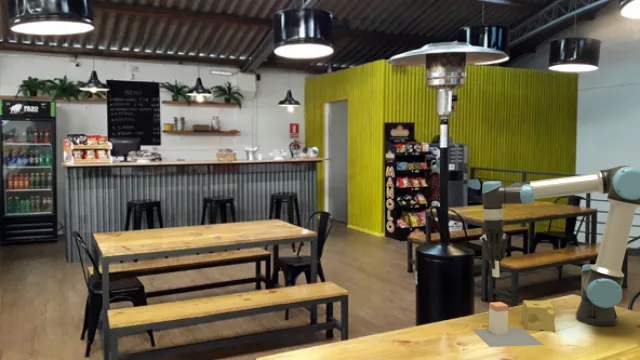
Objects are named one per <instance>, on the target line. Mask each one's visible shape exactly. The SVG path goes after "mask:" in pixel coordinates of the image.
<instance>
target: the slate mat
mask: <svg viewBox="0 0 640 360" xmlns="http://www.w3.org/2000/svg"><path fill="white" fill-rule="evenodd" d="M471 330H472V331H473V332H474V334H476V335H477V336H478V337H479V338H480V339H481V340H482V341H483V342H484V343H485V344H486V345H487V346H488V347H489V348H496V347H498V348H499V347H501V348H502V347H519V346H520V347H522V346H542V345H544V344H545V343H544V344H543V343H542V342H541V341H540V340H538V338H536V337H534V336H533V335H532V334H530V333H529V331H527V330H525V329H524V328H522V327H508V334H501V335H495V334H494V333H492V332H490V331H489V328H478V329H477V328H476V329H471Z"/></svg>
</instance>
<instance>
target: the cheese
mask: <svg viewBox="0 0 640 360" xmlns="http://www.w3.org/2000/svg"><path fill="white" fill-rule="evenodd" d="M555 316H556V315H555V312H554V307H553V305H552V303H551V301H550V300H525V299H523V301H522V304H521V318H522V319H521V320H522V324H523V325H524V326H525V327H526V331H537V332H538V331H539V332H540V331H543V332H551V333H554V334H555V333H556V323H555V319H556V318H555Z"/></svg>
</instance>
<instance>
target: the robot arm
mask: <svg viewBox="0 0 640 360" xmlns="http://www.w3.org/2000/svg"><path fill="white" fill-rule="evenodd" d="M481 193H482V194H481V195H482V208H483V209H482V210H483V218H484V220H483V228H484V232H483V235H482V236H480V237H478V239H479V241H480V242H481V246H482V249H483V253H484V258H485V260H488V261H490V262H489V263H490V269H491V271H492V272H491V273H492V275H491V276H492V277H494V278H500V269H501V267H502V266H501V262H502V261H503V259H505V257H506V251H507V245H508V240H509V238H510V235H509V234H506V233H505V232H504V220H503V218H504V212H503V209H504V208H503V205H528V204H534V201H535V199H536V200H537V199H545V198H554V197H563V196H564V197H565V196H573V195H581V194H582V195H583V194H592V193H593V194H594V193H599V194H601V195H606V194H607V197H606V199H607V201H608V202H609V207H608V208H609V209H608V212H607V215H606V221H605V226H604V229H603V233H602V237H601V242H600V245H599V250H598V254H597V259H596V263H595V264H592V263H591V264H587V263H586V264H583V265H582V267H581V293H580V296H581V298H580V301H579V305H578V307H577V309H576V315H575V318H576V320H577V321H578V322H581V323H584V324H587V325H590V326H596V327H597V326H598V327H612V326H613V327H614V326H616V325H617V324H618V320H619V319H618V315H617V311H616V309H615V306H617V305H618V304H619V303H620V302H621V301H622V299H623V289H622V286H623V282H624V278H625V274H624V273H623V272H622V267H623V264H624V263H623V262H624V260H625V254H626V252H627V251H626V250H627V246H628V243H629V238H630V234H631V230H632V226H633V222H634V218H635V214H636V210H637V209H638V208H640V168H639V167H635V166H631V165H620V166H615V167H612V168H607V169H600V170H597V172H596V173H589V174H580V175H573V176H563V177H555V178H548V179H539V180H532V181H525V182H524V181H523V182H519V181H518V182H517V181H516V182H514V183H512V184H511V185H502V181H500V180H498V181H497V180H495V181H493V180H492V181H491V180H490V181H484V182H483V183H482V191H481Z"/></svg>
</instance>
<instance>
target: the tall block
mask: <svg viewBox="0 0 640 360" xmlns="http://www.w3.org/2000/svg"><path fill="white" fill-rule="evenodd" d="M488 304H489V305H488V307H489V308H488V309H489V310H488V329H489V331H490V332H492V333H494V334H495V335H501V334H508V328H509V305H508V304H507V303H504V302H501V301H495V302H489V303H488Z"/></svg>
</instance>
